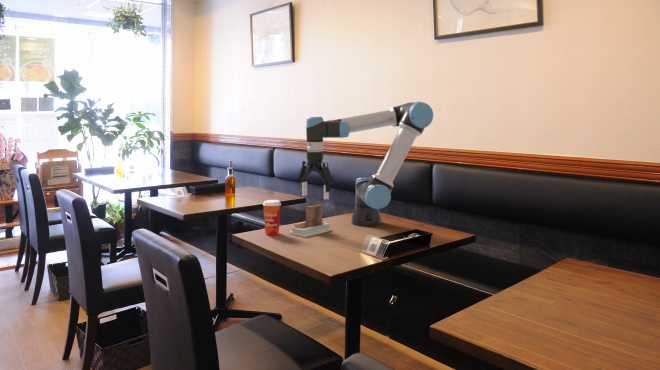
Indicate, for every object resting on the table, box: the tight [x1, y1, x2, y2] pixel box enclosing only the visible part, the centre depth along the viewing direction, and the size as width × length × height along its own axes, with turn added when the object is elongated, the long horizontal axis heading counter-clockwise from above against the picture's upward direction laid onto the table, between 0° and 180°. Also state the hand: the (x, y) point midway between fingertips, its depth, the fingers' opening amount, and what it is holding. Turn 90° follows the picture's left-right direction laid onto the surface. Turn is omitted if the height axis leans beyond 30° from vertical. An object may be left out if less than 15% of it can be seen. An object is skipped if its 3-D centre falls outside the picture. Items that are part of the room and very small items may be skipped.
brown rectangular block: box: [305, 203, 324, 228], centre depth 225 cm, size 8×3×11 cm, turn 139°
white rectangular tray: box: [289, 220, 333, 238], centre depth 224 cm, size 18×10×4 cm, turn 139°
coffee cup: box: [262, 199, 282, 236], centre depth 218 cm, size 8×8×15 cm
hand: (315, 197), depth 223 cm, fingers open, 13 cm apart
